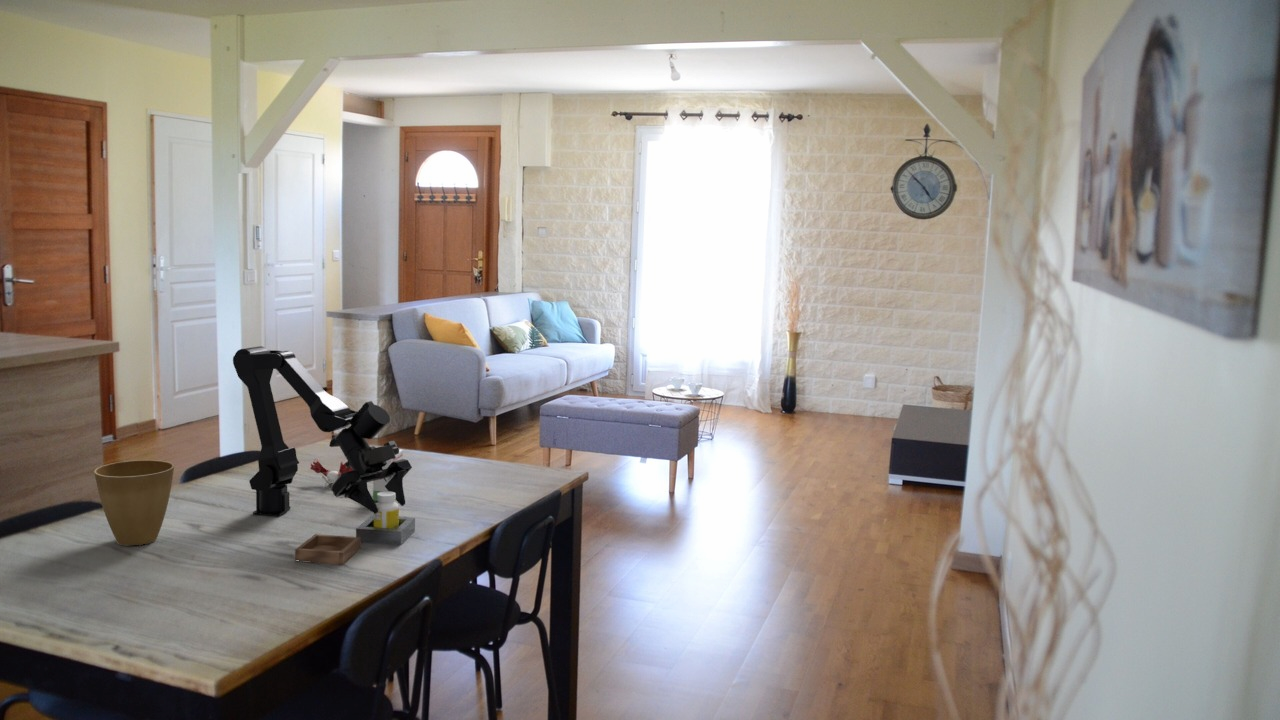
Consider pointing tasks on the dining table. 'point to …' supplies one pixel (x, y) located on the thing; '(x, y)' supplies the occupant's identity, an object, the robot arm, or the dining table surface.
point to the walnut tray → (328, 549)
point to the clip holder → (386, 531)
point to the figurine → (330, 475)
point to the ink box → (380, 484)
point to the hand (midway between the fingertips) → (390, 508)
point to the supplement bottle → (386, 511)
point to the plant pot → (135, 498)
